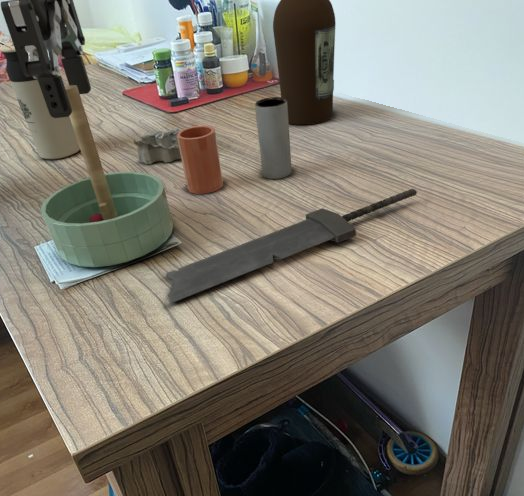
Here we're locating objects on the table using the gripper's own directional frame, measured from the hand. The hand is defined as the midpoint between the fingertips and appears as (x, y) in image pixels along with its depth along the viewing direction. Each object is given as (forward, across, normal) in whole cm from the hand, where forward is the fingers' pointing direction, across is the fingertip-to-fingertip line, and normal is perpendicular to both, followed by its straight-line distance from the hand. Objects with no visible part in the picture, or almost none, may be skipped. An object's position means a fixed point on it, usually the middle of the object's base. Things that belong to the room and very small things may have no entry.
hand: (72, 104), depth 57 cm
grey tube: (+17, -16, +22) cm, 32 cm away
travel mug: (+17, -37, -18) cm, 45 cm away
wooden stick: (+16, 0, 0) cm, 16 cm away
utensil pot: (+17, -14, +11) cm, 24 cm away
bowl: (+17, 0, 0) cm, 17 cm away
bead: (+15, -1, -2) cm, 15 cm away
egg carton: (+17, -29, +4) cm, 34 cm away
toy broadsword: (+17, +6, +24) cm, 30 cm away
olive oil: (+17, -41, +29) cm, 53 cm away
